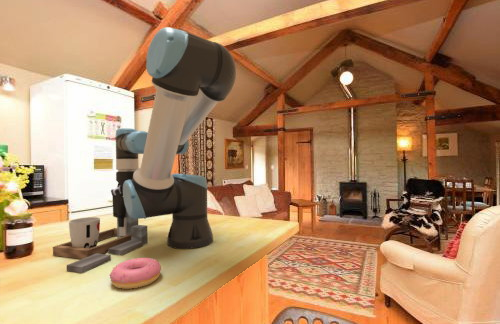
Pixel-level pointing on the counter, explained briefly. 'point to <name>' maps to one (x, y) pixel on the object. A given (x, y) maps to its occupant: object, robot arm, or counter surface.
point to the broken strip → (112, 251)
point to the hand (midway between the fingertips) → (127, 233)
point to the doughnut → (135, 273)
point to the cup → (84, 232)
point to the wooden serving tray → (82, 253)
